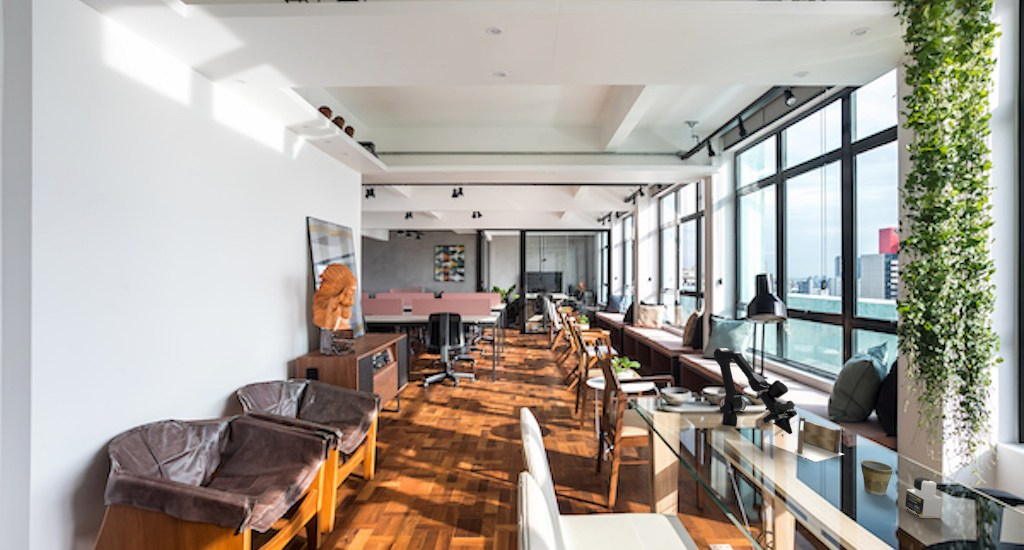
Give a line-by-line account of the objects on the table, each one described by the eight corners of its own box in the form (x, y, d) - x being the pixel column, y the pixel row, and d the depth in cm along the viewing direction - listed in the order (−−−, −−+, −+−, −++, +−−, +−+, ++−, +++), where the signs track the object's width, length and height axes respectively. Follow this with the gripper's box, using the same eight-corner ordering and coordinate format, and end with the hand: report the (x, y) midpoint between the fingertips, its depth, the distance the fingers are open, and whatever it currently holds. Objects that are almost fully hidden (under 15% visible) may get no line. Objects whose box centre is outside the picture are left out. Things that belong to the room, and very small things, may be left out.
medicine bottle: (904, 508, 186) (907, 475, 185) (923, 508, 186) (926, 475, 186) (921, 519, 179) (924, 484, 178) (941, 519, 179) (944, 484, 179)
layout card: (756, 440, 249) (757, 439, 249) (785, 434, 260) (785, 433, 260) (815, 462, 225) (815, 461, 225) (844, 455, 236) (844, 454, 236)
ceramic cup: (892, 500, 192) (894, 473, 192) (859, 492, 197) (861, 466, 197) (889, 487, 203) (891, 462, 203) (858, 480, 208) (860, 455, 208)
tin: (744, 411, 299) (745, 396, 299) (746, 412, 296) (747, 397, 296) (717, 409, 301) (718, 394, 300) (718, 410, 297) (719, 395, 297)
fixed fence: (796, 440, 252) (798, 417, 252) (799, 439, 253) (801, 416, 253) (837, 454, 236) (839, 429, 235) (840, 453, 237) (842, 429, 236)
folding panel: (798, 440, 250) (799, 420, 250) (803, 441, 249) (804, 420, 249) (797, 452, 234) (798, 430, 234) (802, 453, 233) (804, 431, 233)
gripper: (770, 396, 242) (791, 428, 233) (795, 393, 252) (816, 423, 243) (754, 408, 250) (773, 439, 241) (778, 404, 259) (798, 434, 250)
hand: (791, 433), depth 243 cm, fingers closed
